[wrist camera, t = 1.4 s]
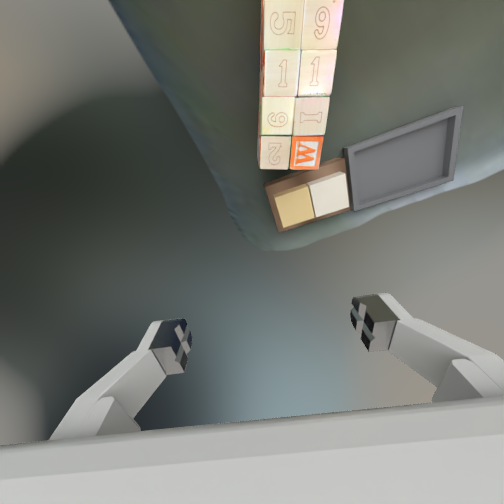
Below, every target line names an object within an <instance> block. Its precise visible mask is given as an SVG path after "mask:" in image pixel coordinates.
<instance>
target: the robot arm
mask: <svg viewBox="0 0 504 504" xmlns="http://www.w3.org/2000/svg"><path fill="white" fill-rule="evenodd" d="M352 305H353V306H354V307H353V309H352V310H351V313H350V317H351V322H352V324H353V326H354V328H355V330H356V331H357V332H359V333H361V340H362V342H363V343H364V345H365V347H366V348H367V350H368V352H373V351H384V350H389V352H390V353H392V354H393V355H394V356H396V357H397V358H398V359H400V360H401V361H402V362H404V363H405V364H407V365H408V366H409V367H411V368H412V369H413V370H415V371H416V372H417V373H419V374H420V375H421V376H423V377H424V378H425V379H427V380H428V381H429V382H431V383H432V384H433V385H435V386H436V387H437V390H436V391H435V394H434V395H433V398H432V402H433V403H423V404H413V405H404V406H393V407H383V408H373V409H362V410H352V411H343V412H332V413H322V414H312V415H301V416H291V417H281V418H272V419H260V420H252V421H251V420H250V421H240V422H230V423H220V424H210V425H201V426H190V427H180V428H170V429H159V430H150V431H140V427H139V425H138V424H137V423H136V422H135V421H134V420H133V418H134V417H135V415H136V414H137V413H138V411H139V410H140V409H141V408H142V406H143V405H144V404H145V403H146V401H147V400H148V399H149V397H150V396H151V395H152V394H153V392H154V391H155V390H156V388H157V387H158V386H159V385H160V384H161V382H162V381H163V380H164V378H165V377H166V375H169V374H177V373H183V372H185V368H186V364H187V361H188V357H187V355H186V354H187V353H188V352H189V351H190V349H191V346H192V334H191V331H190V330H189V329H188V328H186V326H187V322H186V320H185V319H184V318H182V319H172V320H164V321H154V322H153V323H151V325H150V327H149V328H148V330H147V332H146V334H145V336H144V338H143V339H142V341H141V343H140V345H139V347H138V349H137V351H135V352H132V353H131V354H130V355H128V356H127V357H126V358H125V359H124V360H122V361H121V362H120V363H119V364H118V365H117V366H116V367H114V368H113V369H112V370H111V371H109V372H108V373H107V374H106V375H105V376H103V377H102V378H101V379H100V380H99V381H97V382H96V383H95V384H94V385H93V386H92V387H90V388H89V389H88V390H87V391H86V392H85V393H83V394H82V395H81V396H80V397H78V398H77V399H76V401H75V402H74V404H73V405H72V406H71V408H70V410H69V411H68V412H67V414H66V415H65V417H64V418H63V420H62V422H61V423H60V425H59V426H58V427H57V429H56V430H55V432H54V433H53V435H52V436H51V438H50V439H49V440H48V441H38V442H29V443H18V444H9V445H0V504H504V361H503V360H502V359H501V358H500V357H498V356H497V355H496V354H494V353H492V352H490V351H487V350H485V349H483V348H481V347H479V346H477V345H475V344H472V343H470V342H468V341H466V340H464V339H462V338H459V337H457V336H455V335H452V334H451V333H448V332H446V331H444V330H442V329H440V328H438V327H435V326H433V325H431V324H429V323H427V322H425V321H422V320H420V319H418V318H416V319H414V318H413V317H412V316H411V315H410V314H409V313H408V312H407V311H406V310H405V309H404V308H403V307H402V306H401V305H400V304H399V303H398V302H397V301H396V300H395V299H394V298H393V297H392V296H391V295H390V294H389V293H381V294H375V295H374V294H373V295H365V296H359V297H353V299H352Z"/></svg>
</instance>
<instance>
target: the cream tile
mask: <svg viewBox="0 0 504 504" xmlns="http://www.w3.org/2000/svg"><path fill="white" fill-rule="evenodd" d="M306 184H307V186H308V188H309V193H310V197H311V202H312V207H313V212H314V216H315V217H319V216H322V215H325V214H328V213H331V212H335V211H338V210H341V209H344V208H347V207H349V200H348V192H347V183H346V175H345V173H343V172H340V171H339V172H337V173H334V174H331V175H328V176H325V177H322V178H320V179H317V180H314V181H311V182H308V183H306Z"/></svg>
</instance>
